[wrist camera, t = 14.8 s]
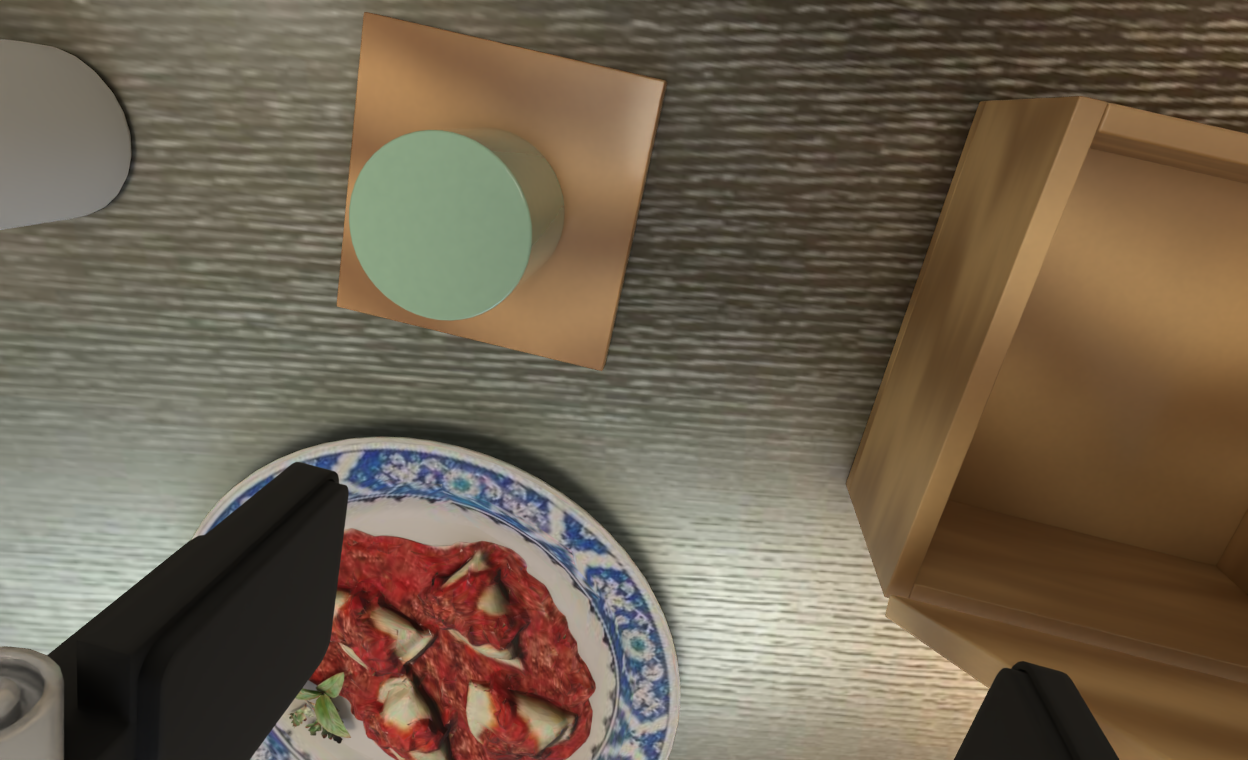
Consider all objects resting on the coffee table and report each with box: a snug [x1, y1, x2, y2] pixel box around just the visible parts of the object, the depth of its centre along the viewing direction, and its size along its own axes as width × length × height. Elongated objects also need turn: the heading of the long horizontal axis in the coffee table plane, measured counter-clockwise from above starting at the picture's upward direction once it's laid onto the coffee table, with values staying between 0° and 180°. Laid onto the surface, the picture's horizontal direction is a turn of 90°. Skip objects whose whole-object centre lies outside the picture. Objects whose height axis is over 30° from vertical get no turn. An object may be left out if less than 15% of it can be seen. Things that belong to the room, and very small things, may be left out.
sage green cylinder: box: [349, 127, 565, 321], centre depth 29 cm, size 6×6×6 cm
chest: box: [846, 96, 1248, 684], centre depth 28 cm, size 17×17×9 cm
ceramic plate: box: [191, 437, 680, 760], centre depth 39 cm, size 26×26×3 cm
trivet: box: [337, 12, 667, 371], centre depth 33 cm, size 12×12×1 cm
